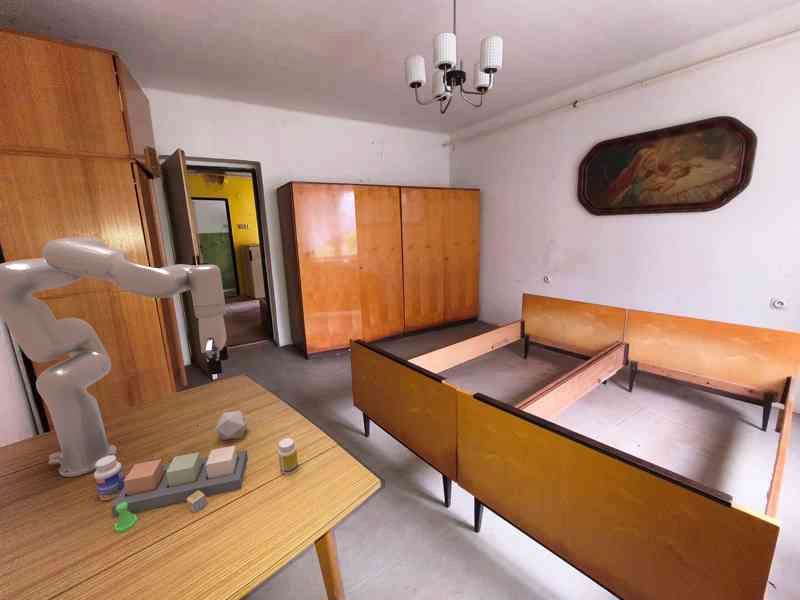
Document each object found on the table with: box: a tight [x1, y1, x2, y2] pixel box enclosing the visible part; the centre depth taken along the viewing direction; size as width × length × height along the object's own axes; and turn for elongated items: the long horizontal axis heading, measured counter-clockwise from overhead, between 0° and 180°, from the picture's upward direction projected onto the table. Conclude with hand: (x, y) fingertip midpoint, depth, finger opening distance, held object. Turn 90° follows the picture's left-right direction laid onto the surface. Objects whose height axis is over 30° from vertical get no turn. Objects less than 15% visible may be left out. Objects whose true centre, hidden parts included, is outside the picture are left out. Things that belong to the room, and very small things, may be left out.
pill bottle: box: [93, 455, 126, 501], centre depth 85 cm, size 5×5×10 cm
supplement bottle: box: [278, 437, 299, 475], centre depth 92 cm, size 5×5×8 cm
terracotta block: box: [124, 459, 165, 496], centre depth 84 cm, size 6×6×5 cm
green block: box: [166, 452, 202, 487], centre depth 87 cm, size 6×6×5 cm
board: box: [110, 449, 249, 518], centre depth 88 cm, size 28×12×3 cm, turn 106°
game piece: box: [114, 502, 139, 533], centre depth 76 cm, size 4×4×6 cm
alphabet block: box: [186, 490, 208, 514], centre depth 81 cm, size 3×3×3 cm
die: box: [214, 410, 249, 441], centre depth 107 cm, size 8×9×10 cm
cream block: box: [206, 445, 238, 479], centre depth 89 cm, size 6×6×5 cm
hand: (219, 366), depth 95 cm, fingers open, 9 cm apart
